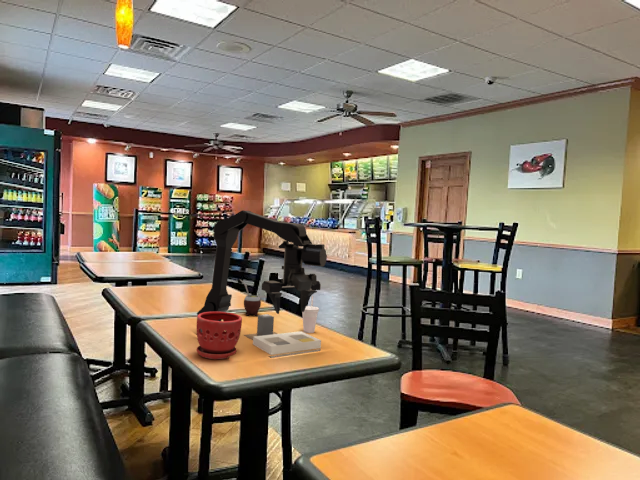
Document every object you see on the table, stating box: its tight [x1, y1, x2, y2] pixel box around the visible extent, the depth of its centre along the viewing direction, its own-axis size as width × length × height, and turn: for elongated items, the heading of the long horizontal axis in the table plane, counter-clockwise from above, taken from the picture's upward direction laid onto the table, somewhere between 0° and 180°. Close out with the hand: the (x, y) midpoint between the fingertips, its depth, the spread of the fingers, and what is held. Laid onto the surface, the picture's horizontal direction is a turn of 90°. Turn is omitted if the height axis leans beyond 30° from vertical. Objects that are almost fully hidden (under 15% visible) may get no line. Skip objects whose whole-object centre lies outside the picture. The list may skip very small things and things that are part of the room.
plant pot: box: [196, 311, 243, 360], centre depth 141 cm, size 13×13×12 cm
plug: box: [256, 313, 275, 336], centre depth 161 cm, size 4×4×7 cm
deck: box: [243, 331, 279, 341], centre depth 161 cm, size 12×9×1 cm
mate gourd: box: [239, 279, 262, 317], centre depth 196 cm, size 8×8×15 cm
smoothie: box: [301, 295, 320, 334], centre depth 171 cm, size 6×6×14 cm
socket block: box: [252, 330, 322, 359], centre depth 151 cm, size 18×12×4 cm, turn 125°
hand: (290, 312), depth 150 cm, fingers open, 9 cm apart
